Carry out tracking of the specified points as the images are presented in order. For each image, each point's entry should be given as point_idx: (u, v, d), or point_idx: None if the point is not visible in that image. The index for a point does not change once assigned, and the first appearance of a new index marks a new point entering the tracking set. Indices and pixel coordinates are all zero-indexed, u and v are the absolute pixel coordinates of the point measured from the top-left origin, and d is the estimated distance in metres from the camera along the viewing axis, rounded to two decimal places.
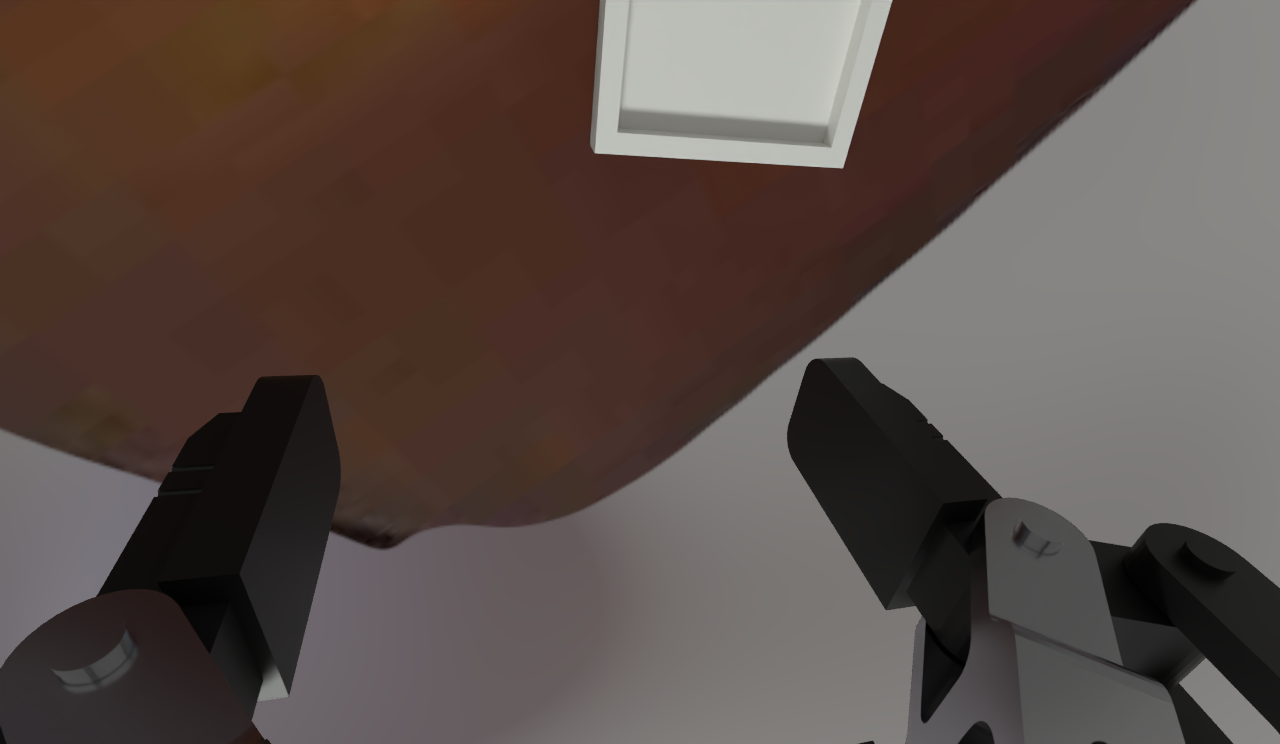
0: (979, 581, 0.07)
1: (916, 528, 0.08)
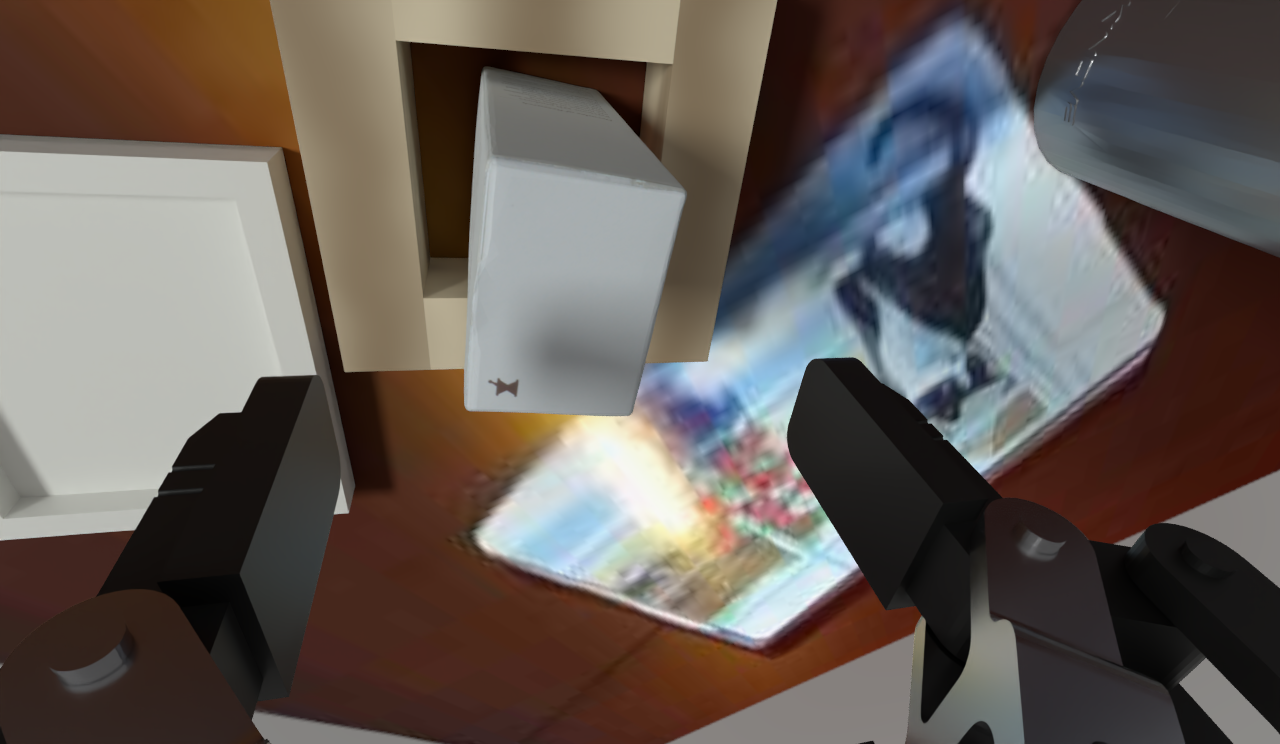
0: (979, 581, 0.07)
1: (916, 528, 0.08)
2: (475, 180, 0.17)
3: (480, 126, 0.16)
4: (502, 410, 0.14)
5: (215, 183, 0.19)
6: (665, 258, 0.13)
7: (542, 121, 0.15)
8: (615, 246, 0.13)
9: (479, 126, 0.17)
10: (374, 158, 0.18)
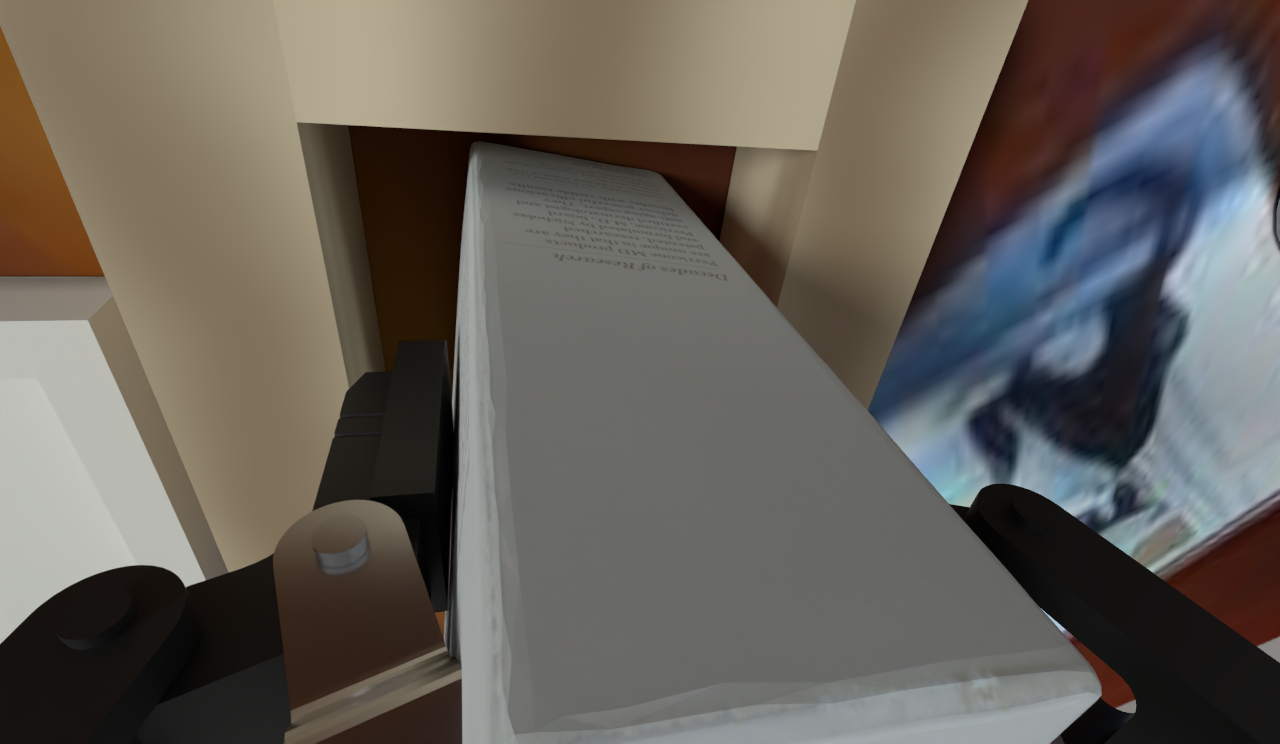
0: None
1: None
2: None
3: (467, 314, 0.08)
4: None
5: None
6: None
7: (609, 334, 0.06)
8: None
9: (465, 292, 0.09)
10: (271, 327, 0.10)
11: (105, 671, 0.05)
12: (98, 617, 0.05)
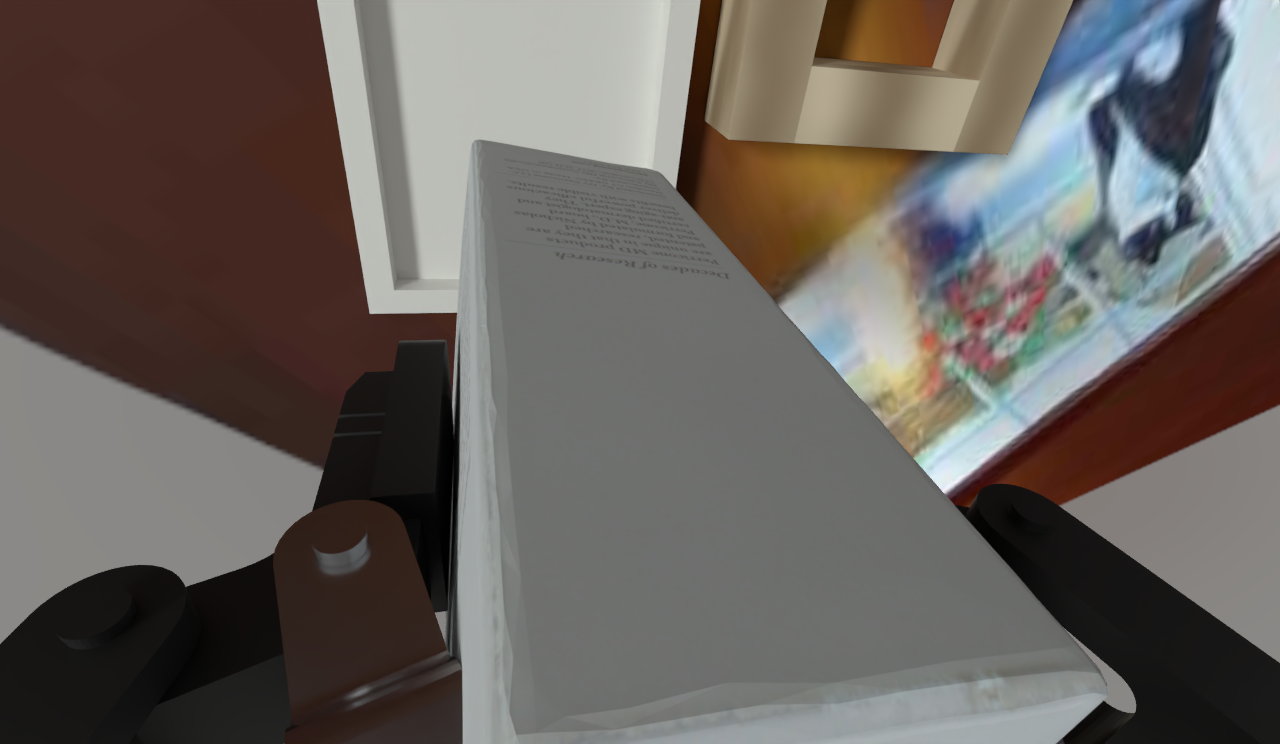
0: None
1: None
2: (459, 386, 0.09)
3: (468, 313, 0.08)
4: None
5: None
6: None
7: (611, 332, 0.06)
8: None
9: (466, 291, 0.09)
10: None
11: (106, 671, 0.05)
12: (98, 617, 0.05)
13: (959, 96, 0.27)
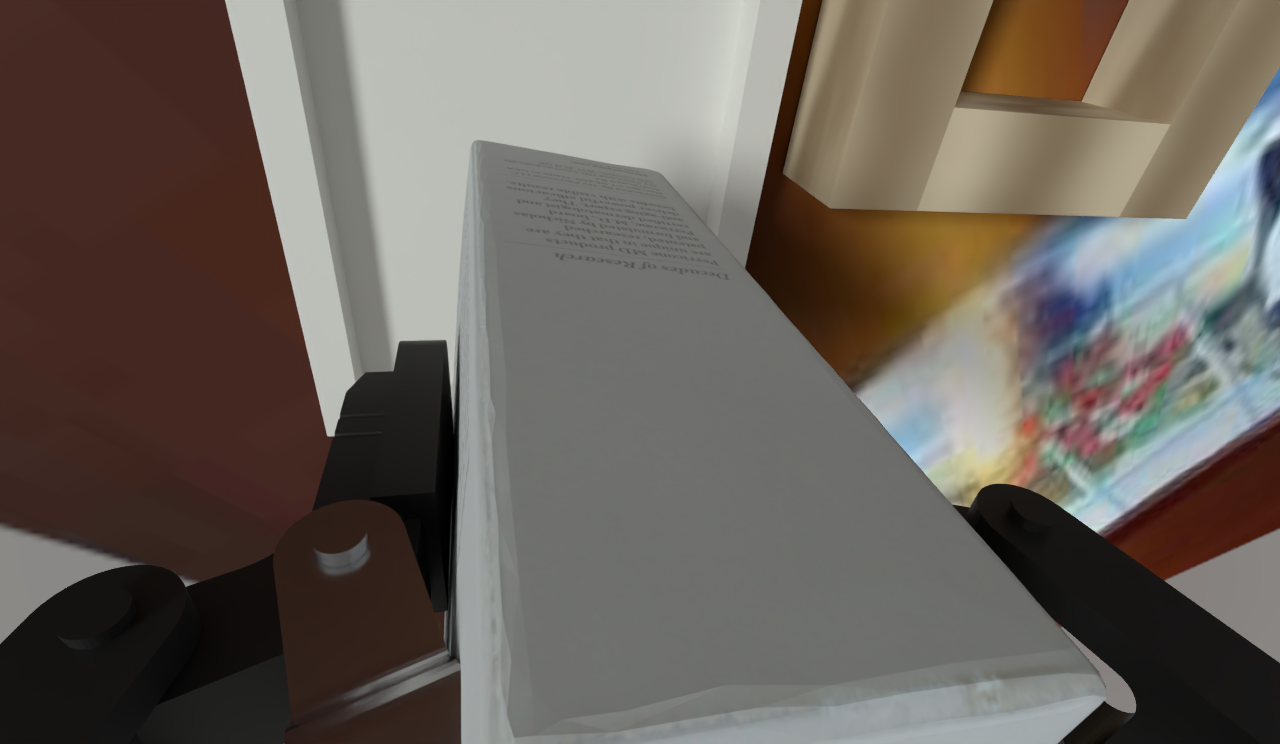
0: None
1: None
2: (459, 387, 0.09)
3: (467, 313, 0.08)
4: None
5: None
6: None
7: (610, 333, 0.06)
8: None
9: (466, 291, 0.09)
10: None
11: (106, 670, 0.05)
12: (96, 617, 0.05)
13: (1139, 145, 0.19)
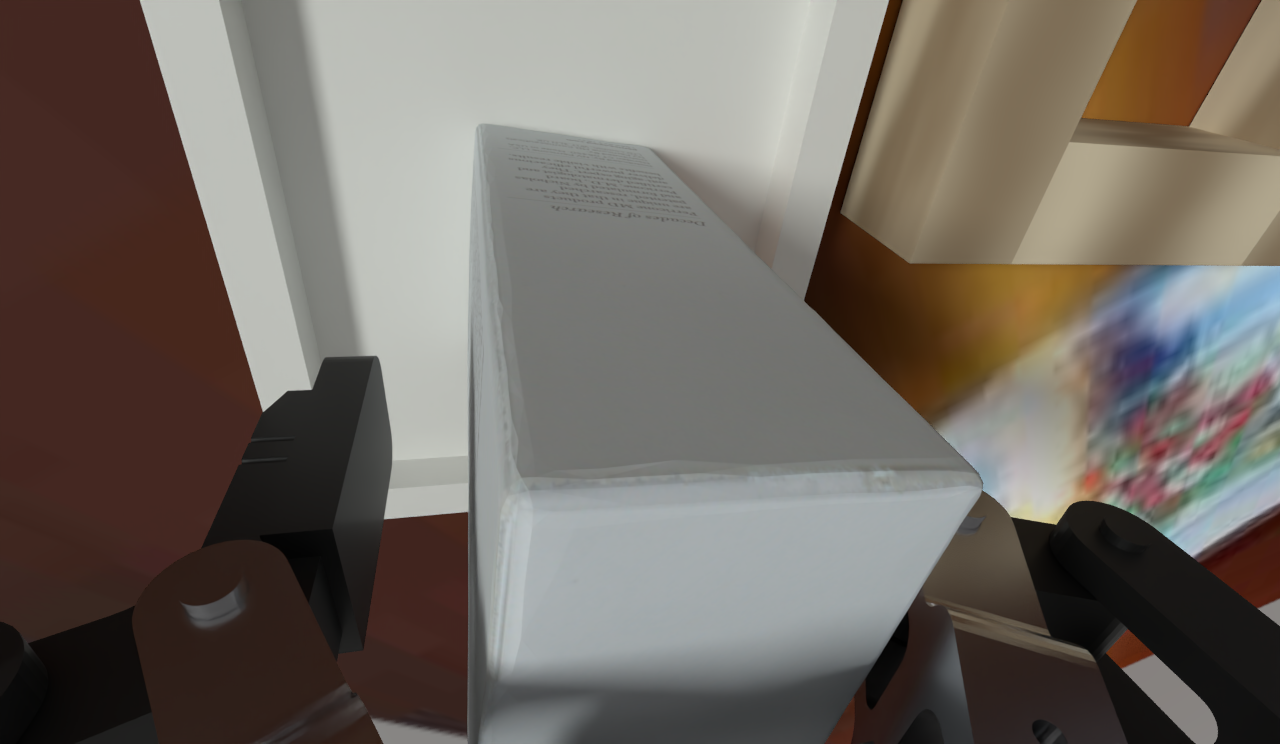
0: None
1: None
2: (473, 332, 0.10)
3: (478, 258, 0.09)
4: None
5: None
6: (909, 600, 0.06)
7: (598, 260, 0.08)
8: (811, 603, 0.05)
9: (476, 245, 0.10)
10: None
11: None
12: None
13: (1277, 183, 0.16)
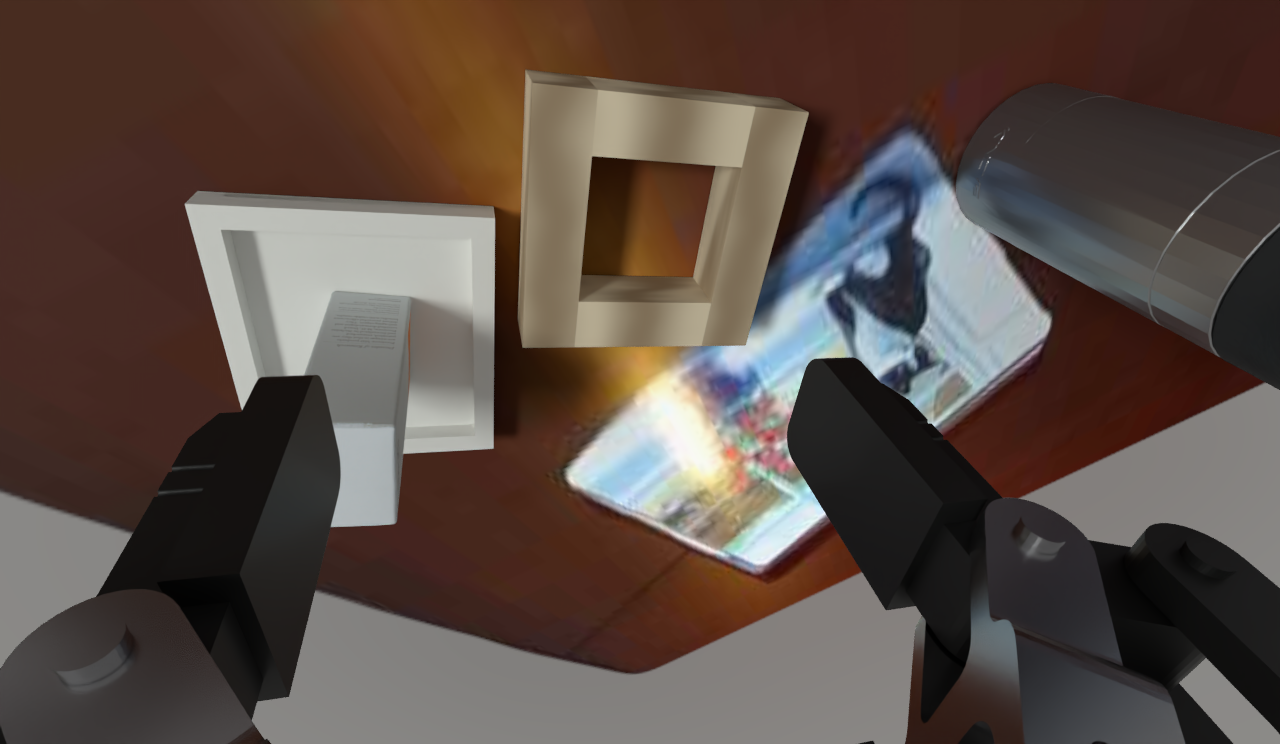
0: (979, 581, 0.07)
1: (916, 528, 0.08)
2: None
3: None
4: None
5: (462, 230, 0.32)
6: (392, 454, 0.26)
7: (339, 368, 0.28)
8: (362, 452, 0.25)
9: None
10: (567, 219, 0.31)
11: None
12: None
13: (697, 313, 0.36)
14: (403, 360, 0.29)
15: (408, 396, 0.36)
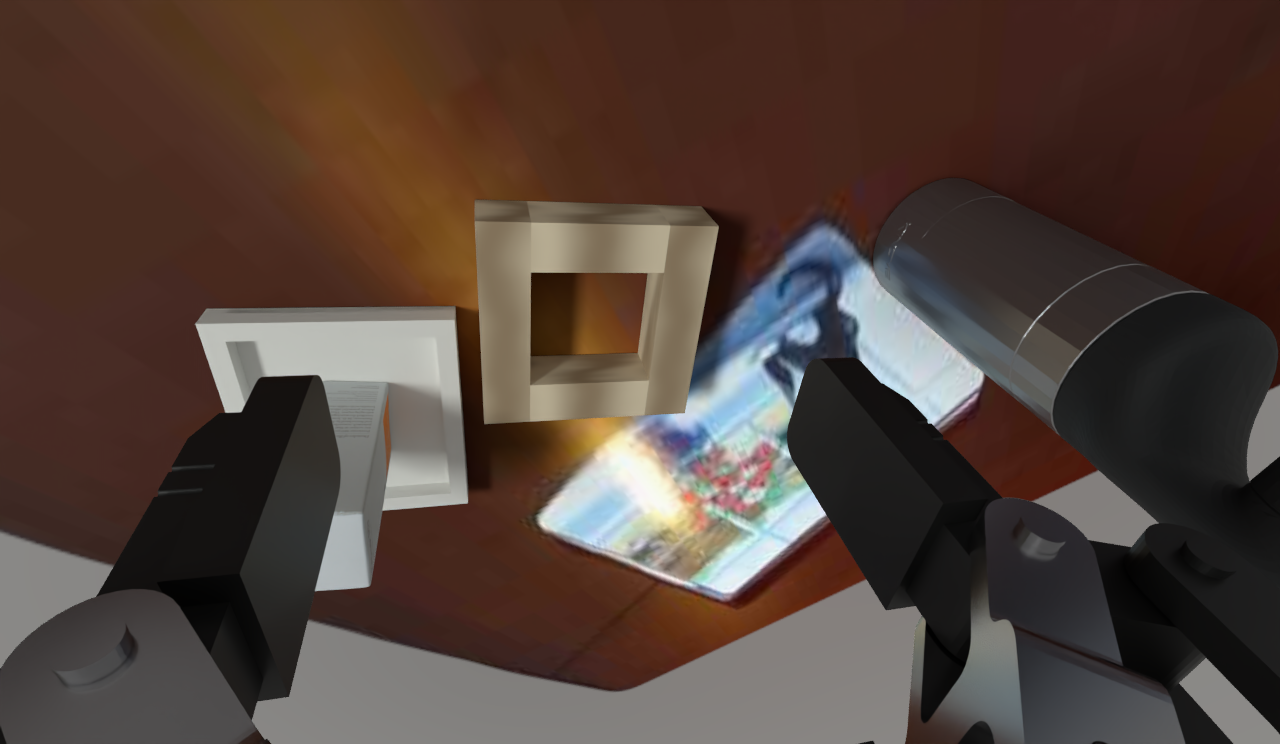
0: (979, 581, 0.07)
1: (916, 528, 0.08)
2: None
3: None
4: None
5: (427, 330, 0.38)
6: (362, 534, 0.32)
7: None
8: (337, 533, 0.31)
9: None
10: (514, 322, 0.37)
11: None
12: None
13: (637, 389, 0.42)
14: (376, 447, 0.35)
15: (388, 465, 0.41)
